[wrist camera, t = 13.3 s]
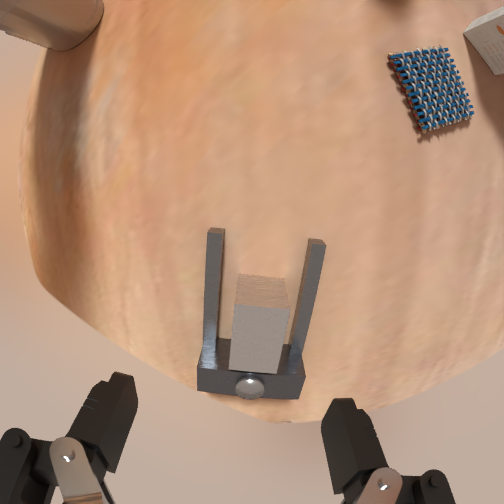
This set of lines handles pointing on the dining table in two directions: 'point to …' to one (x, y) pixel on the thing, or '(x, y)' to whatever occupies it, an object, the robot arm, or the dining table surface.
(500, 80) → the dining table surface
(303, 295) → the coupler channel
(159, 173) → the dining table surface
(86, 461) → the robot arm
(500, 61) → the small box
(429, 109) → the woven mat
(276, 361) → the block
